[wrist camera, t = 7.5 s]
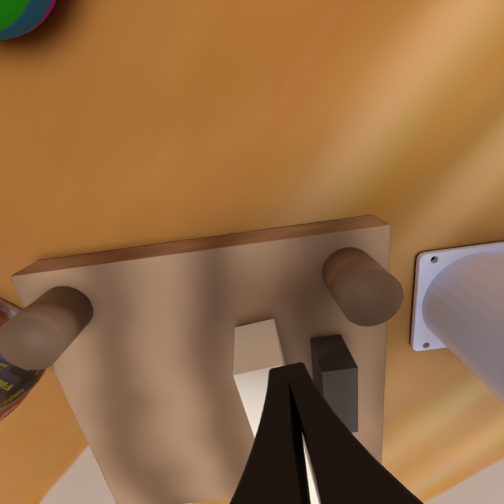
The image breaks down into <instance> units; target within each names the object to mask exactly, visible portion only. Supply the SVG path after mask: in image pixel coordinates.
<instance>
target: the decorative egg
mask: <svg viewBox="0 0 504 504" xmlns="http://www.w3.org/2000/svg"><path fill="white" fill-rule="evenodd" d="M55 2H56V0H0V40H7V39H12V38H16V37H19V36H22V35H24V34H26V33H29V32H30V31H32V30H33V29H35V28H36V27H38V26H39V25H40V24H41V23H42V22H43V21H44V20H45V19H46V18H47V16H48V15H49V13H50V12H51V10H52V9H53V7H54V5H55Z"/></svg>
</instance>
